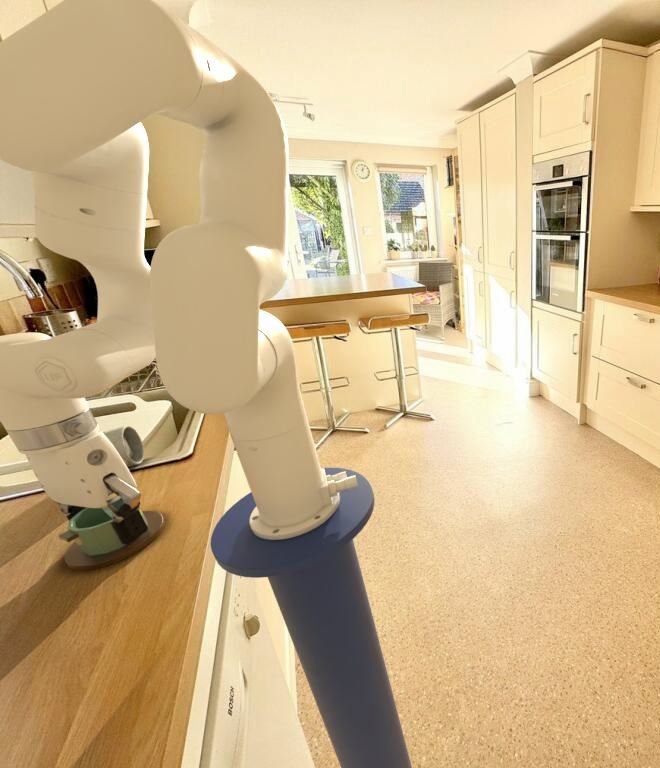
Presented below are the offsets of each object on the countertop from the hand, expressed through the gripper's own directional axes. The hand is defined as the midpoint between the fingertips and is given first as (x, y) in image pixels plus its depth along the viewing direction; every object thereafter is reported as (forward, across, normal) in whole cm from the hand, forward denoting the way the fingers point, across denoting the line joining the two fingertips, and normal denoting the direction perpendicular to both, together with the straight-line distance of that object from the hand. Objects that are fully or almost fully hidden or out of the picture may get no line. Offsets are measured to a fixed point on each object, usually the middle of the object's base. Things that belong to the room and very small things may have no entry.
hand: (113, 532), depth 60 cm
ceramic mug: (+2, +20, -14) cm, 25 cm away
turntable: (+1, 0, 0) cm, 1 cm away
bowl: (+1, 0, 0) cm, 1 cm away
